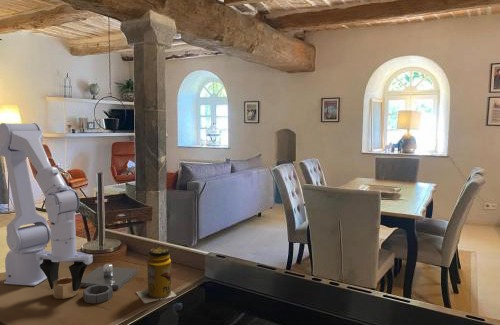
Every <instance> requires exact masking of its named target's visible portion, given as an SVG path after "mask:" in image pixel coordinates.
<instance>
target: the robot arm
mask: <svg viewBox="0 0 500 325" xmlns="http://www.w3.org/2000/svg"><path fill="white" fill-rule="evenodd" d="M43 141H44V133H43V129H42V128H41V126H40V125H39V124H38V123H36V122H33V123H5V122H1V123H0V156H1V157H3V158H4V159H5V160H4V161H5V165H6V171H7V176H8V180H9V182H8V183H9V186H10V193H11V197H12V198H11V199H12V203H13V207H14V212H15V217H13V219H12V220H10V222H9V223H7V225H6V239H5V240H6V244H7V248H9V251H8V252H7V253H6V255H5V259H4V264H5V265H4V266H5V281H3V284H5V285H20V286H29V287H35V286H37V285H39V284H40V283H42V282H43V281H46V280H47V281H48V284H49V287H50V290H53V285H52V282H53V281H55V280H57V279H59V269H60V263H61V262H62V263H63V262H64V263H73V264H71V265H69V266H68V269H69V270H68V271H69V273H70V277H72V288H73V291H77V290H78V291H79V289H80V288H81V287H80V285H81V280H82V278H83V276H84V273H85V271H86V269H87V268H88V266H89V265H90V264H92V263H93V260H94V259H93V257H94V255H93V254H88V253H84V252H80V251H77V237H76V236H77V233H76V232H77V231H76V230H77V229H76V211H78V210H79V209H80V204H81V203H80V202H81V201H80V200H81V199H80V196H79V194H78V192H77V191H76V190H75V189H74V188H72V187H71V186H68V185H67V182H66V181H65V179H64V178H63V176H62V173H61V172H60V170H59V169H58V168H57V167H55V166H52V164H51V162H50V160H49V158H48V155H47V152H46V150H45V147H44V146H43ZM27 158H28V160H29V162H30V163H31V164H32V166H33V167H34V169H35V171H36V172H37V173H36V175H35V180H36V182H37V184H38V186H39V187H40V189H41V192H42V194H43V196H44V198H45V201H44V207H45V211H46V213H47V218H46V217H45V216H43V215H42V214H40V213H39V212H37V208H36V204H35V199H34V193H33V188H32V183H31V178H30V174H29V167H28V162H27ZM48 222H50V226H49V223H48ZM31 224H32V225H31ZM26 225H27V226H26ZM21 226H23V227H21ZM49 243H50V244H51V245H50V246H51V250H49V251H48V250H47V251H45V250H46V249H45V248H47V247H48V244H49Z"/></svg>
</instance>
